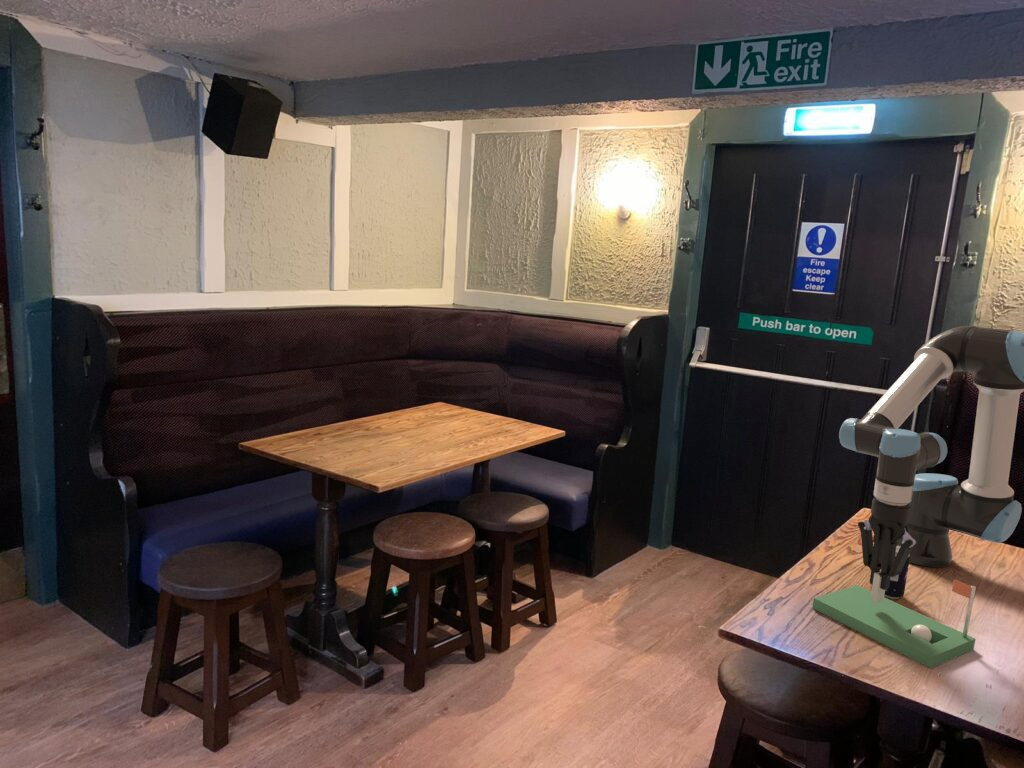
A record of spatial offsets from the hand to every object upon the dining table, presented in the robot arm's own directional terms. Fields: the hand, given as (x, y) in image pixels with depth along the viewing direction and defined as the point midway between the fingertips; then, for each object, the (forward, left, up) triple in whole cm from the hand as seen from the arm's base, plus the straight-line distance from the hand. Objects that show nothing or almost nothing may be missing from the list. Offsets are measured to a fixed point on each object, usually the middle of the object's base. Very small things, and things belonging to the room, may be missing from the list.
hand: (876, 600), depth 174 cm
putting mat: (0, +4, -5) cm, 6 cm away
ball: (+1, +9, -4) cm, 10 cm away
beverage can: (-16, -6, -5) cm, 17 cm away
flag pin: (-6, +15, -5) cm, 17 cm away
